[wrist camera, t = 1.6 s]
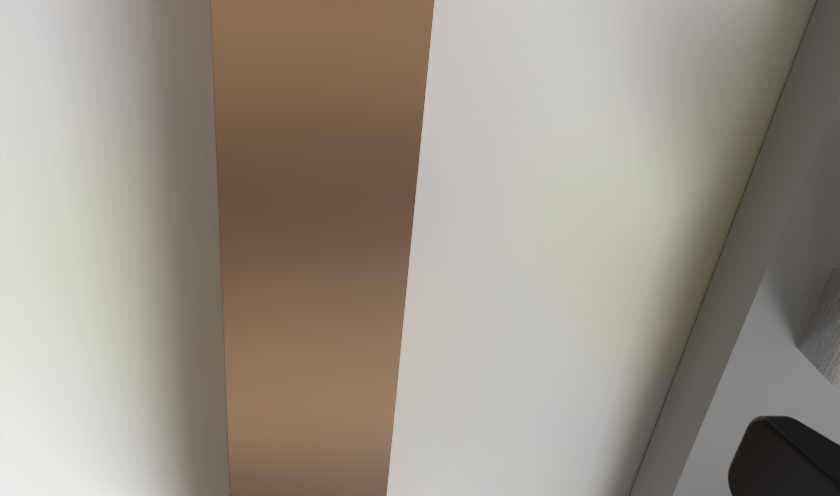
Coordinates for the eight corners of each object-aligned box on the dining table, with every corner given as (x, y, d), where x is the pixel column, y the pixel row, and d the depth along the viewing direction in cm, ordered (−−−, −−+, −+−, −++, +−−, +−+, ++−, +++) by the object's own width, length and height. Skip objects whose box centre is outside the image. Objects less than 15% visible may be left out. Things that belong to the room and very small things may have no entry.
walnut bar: (358, 541, 20) (371, 649, 18) (241, 550, 20) (236, 662, 17) (452, -673, 10) (515, -846, 7) (201, -729, 9) (173, -940, 6)
